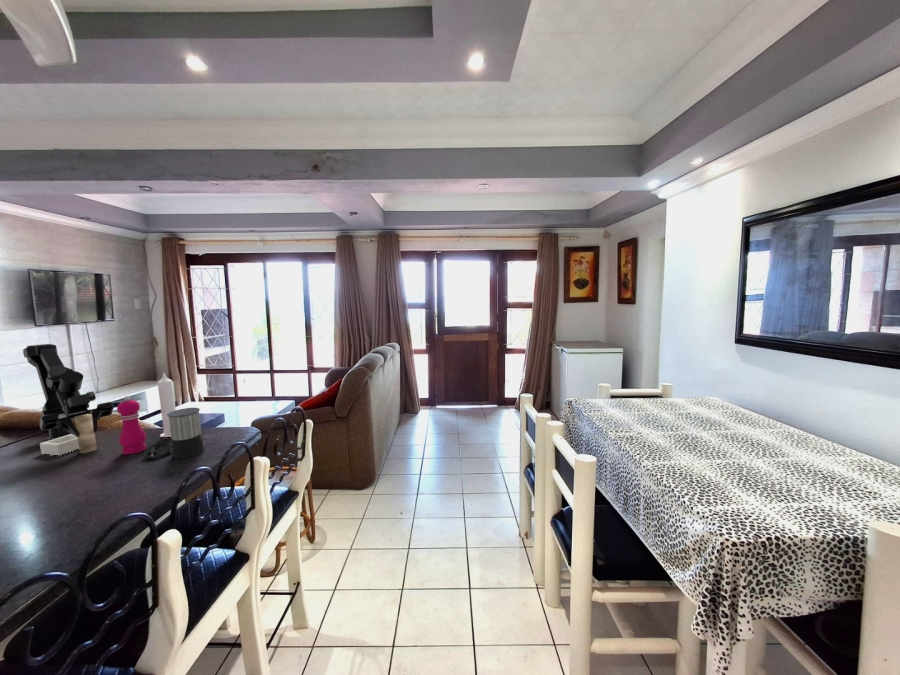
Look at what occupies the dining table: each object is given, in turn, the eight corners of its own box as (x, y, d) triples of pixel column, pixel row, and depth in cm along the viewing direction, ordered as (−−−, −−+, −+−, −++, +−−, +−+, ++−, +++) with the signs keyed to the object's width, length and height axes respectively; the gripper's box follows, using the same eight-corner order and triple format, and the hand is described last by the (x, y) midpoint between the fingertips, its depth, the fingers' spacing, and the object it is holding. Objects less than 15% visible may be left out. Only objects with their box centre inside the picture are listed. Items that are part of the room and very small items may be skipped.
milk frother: (208, 451, 128) (203, 410, 127) (150, 468, 117) (144, 423, 115) (196, 442, 138) (192, 403, 136) (142, 456, 126) (136, 414, 125)
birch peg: (76, 452, 131) (71, 417, 130) (91, 447, 136) (86, 413, 134) (85, 453, 130) (79, 418, 129) (99, 448, 134) (94, 414, 133)
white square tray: (41, 454, 132) (39, 443, 131) (72, 444, 140) (70, 434, 140) (58, 456, 129) (56, 445, 129) (88, 445, 138) (87, 435, 137)
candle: (186, 432, 148) (179, 371, 145) (168, 439, 142) (160, 375, 139) (174, 431, 151) (166, 370, 148) (155, 437, 144) (147, 374, 141)
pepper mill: (153, 447, 134) (145, 393, 132) (134, 455, 127) (126, 399, 125) (135, 446, 135) (127, 393, 133) (115, 455, 128) (107, 399, 126)
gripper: (36, 392, 124) (52, 429, 120) (108, 380, 140) (124, 412, 136) (33, 412, 129) (48, 448, 125) (103, 398, 145) (118, 430, 141)
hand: (87, 433), depth 132 cm, fingers closed on birch peg, 4 cm apart
